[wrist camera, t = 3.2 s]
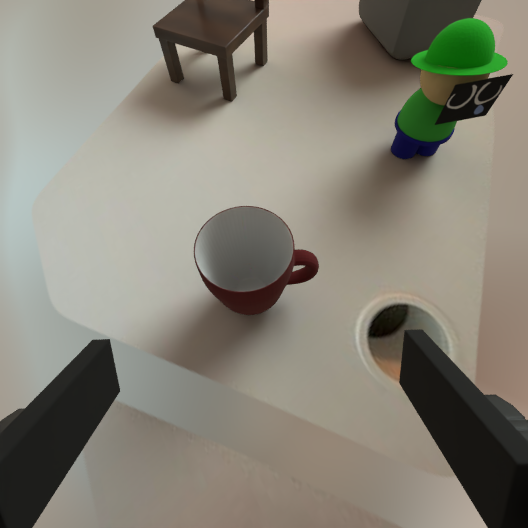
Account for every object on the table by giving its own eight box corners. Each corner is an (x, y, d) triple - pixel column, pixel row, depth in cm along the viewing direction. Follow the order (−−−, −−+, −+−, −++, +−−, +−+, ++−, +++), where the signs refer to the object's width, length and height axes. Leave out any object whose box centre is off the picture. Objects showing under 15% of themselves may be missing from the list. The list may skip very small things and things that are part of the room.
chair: (232, 103, 49) (216, -20, 36) (168, 81, 52) (132, -40, 39) (269, 60, 54) (268, -61, 40) (209, 43, 57) (189, -76, 43)
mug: (299, 249, 37) (307, 190, 28) (322, 314, 33) (339, 271, 24) (208, 270, 36) (186, 216, 27) (221, 339, 32) (201, 304, 23)
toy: (396, 178, 41) (454, 57, 28) (370, 132, 45) (411, 7, 32) (460, 164, 42) (546, 41, 29) (429, 121, 46) (493, -6, 33)
